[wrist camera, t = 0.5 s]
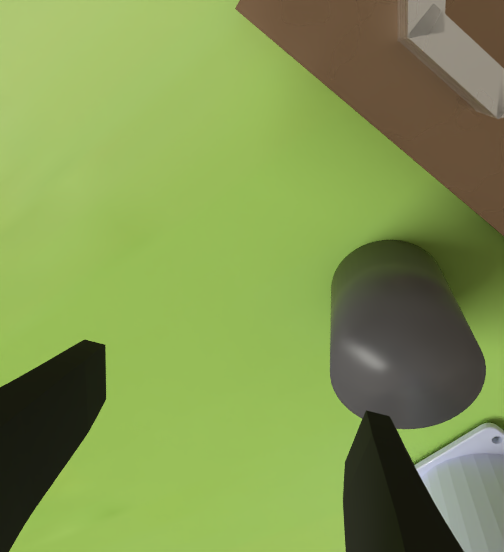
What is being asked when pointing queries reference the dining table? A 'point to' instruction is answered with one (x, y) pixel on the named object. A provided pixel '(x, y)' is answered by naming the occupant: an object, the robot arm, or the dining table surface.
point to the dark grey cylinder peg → (401, 338)
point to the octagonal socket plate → (411, 78)
